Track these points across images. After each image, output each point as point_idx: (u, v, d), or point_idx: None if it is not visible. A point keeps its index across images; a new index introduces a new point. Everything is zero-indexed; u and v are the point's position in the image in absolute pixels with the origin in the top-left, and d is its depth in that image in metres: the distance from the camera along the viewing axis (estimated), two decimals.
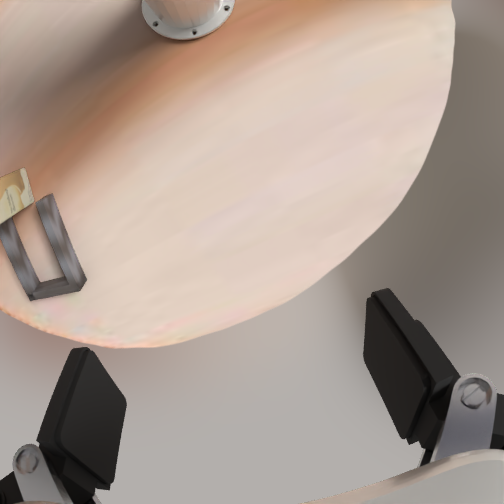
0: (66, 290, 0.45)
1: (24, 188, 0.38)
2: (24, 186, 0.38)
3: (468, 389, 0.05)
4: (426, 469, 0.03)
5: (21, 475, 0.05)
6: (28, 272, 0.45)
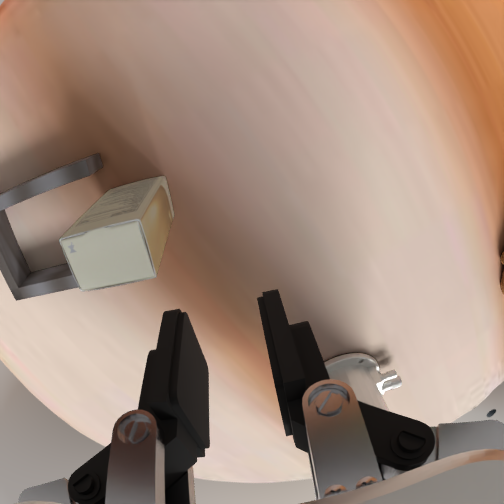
0: (9, 281, 0.28)
1: None
2: None
3: (319, 399, 0.06)
4: (426, 469, 0.03)
5: (129, 446, 0.06)
6: None
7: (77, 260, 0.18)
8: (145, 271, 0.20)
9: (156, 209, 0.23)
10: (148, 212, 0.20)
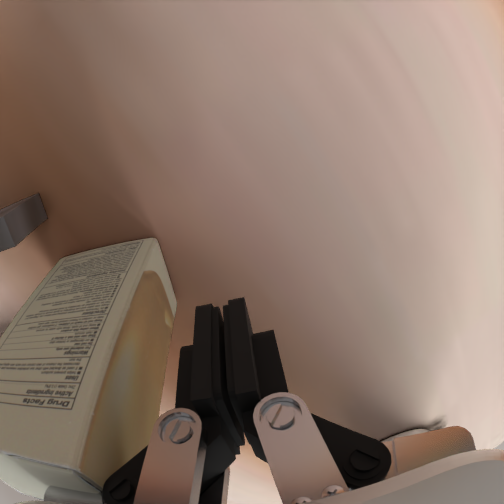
0: None
1: None
2: None
3: (270, 413, 0.06)
4: (426, 470, 0.03)
5: (173, 446, 0.06)
6: None
7: None
8: None
9: (131, 356, 0.09)
10: (105, 402, 0.07)
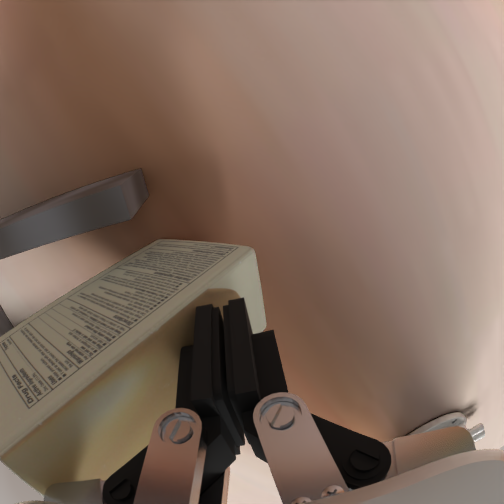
0: None
1: None
2: None
3: (270, 413, 0.06)
4: (426, 470, 0.03)
5: (173, 446, 0.06)
6: None
7: None
8: None
9: (134, 382, 0.08)
10: (63, 418, 0.06)
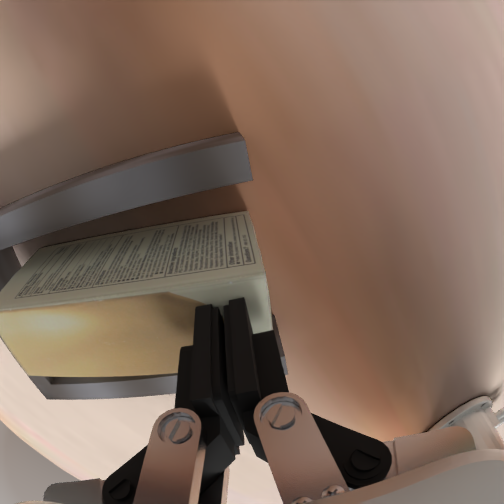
0: None
1: None
2: None
3: (271, 413, 0.06)
4: (426, 470, 0.03)
5: (173, 446, 0.06)
6: None
7: None
8: None
9: (75, 324, 0.10)
10: (23, 315, 0.10)
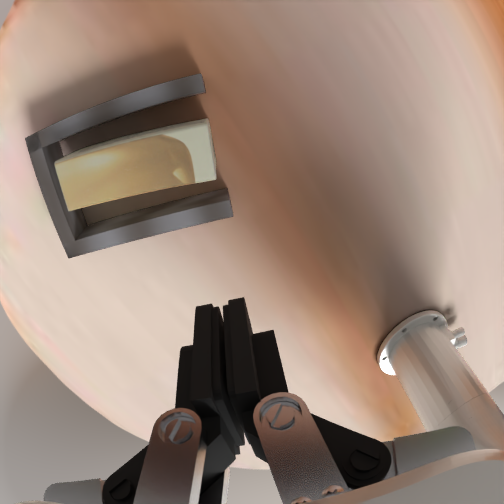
0: (62, 232, 0.25)
1: None
2: None
3: (270, 413, 0.06)
4: (426, 469, 0.03)
5: (173, 446, 0.06)
6: (79, 131, 0.22)
7: None
8: None
9: (110, 159, 0.20)
10: (80, 159, 0.20)
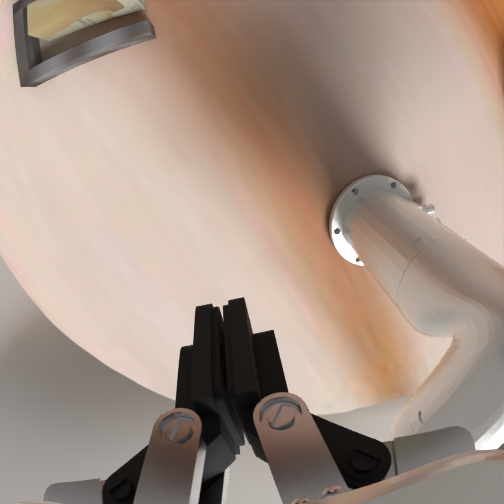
0: (21, 65, 0.23)
1: (124, 8, 0.23)
2: (124, 7, 0.22)
3: (270, 413, 0.06)
4: (426, 469, 0.03)
5: (173, 446, 0.06)
6: None
7: None
8: None
9: None
10: None
